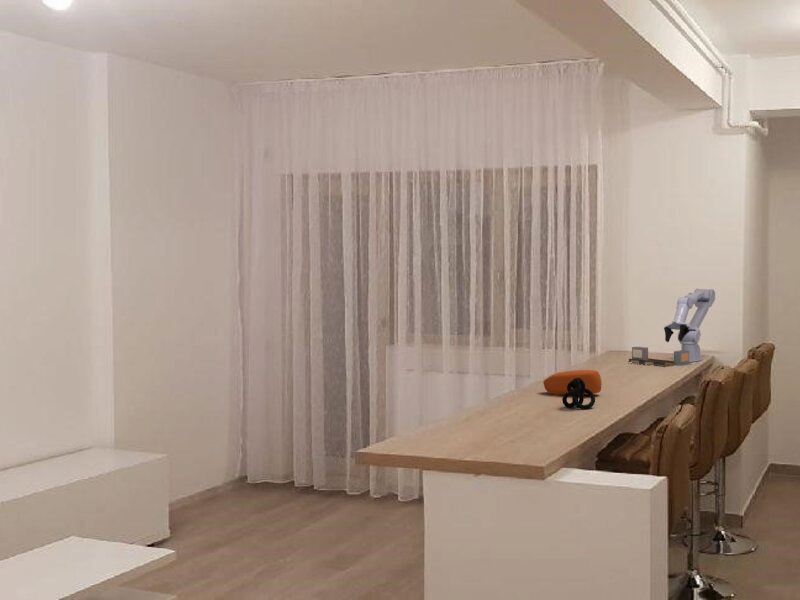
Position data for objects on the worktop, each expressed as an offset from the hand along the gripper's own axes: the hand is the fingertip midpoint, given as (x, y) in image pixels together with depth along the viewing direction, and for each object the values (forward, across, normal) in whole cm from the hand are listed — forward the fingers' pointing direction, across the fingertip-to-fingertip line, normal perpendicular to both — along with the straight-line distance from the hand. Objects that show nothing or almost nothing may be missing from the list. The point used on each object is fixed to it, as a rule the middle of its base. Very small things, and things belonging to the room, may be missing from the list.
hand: (673, 340), depth 537 cm
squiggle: (+93, +41, -87) cm, 134 cm away
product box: (+7, 0, +11) cm, 13 cm away
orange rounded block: (+76, +19, -71) cm, 106 cm away
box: (+9, -19, +3) cm, 21 cm away
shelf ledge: (+11, -12, +4) cm, 17 cm away
